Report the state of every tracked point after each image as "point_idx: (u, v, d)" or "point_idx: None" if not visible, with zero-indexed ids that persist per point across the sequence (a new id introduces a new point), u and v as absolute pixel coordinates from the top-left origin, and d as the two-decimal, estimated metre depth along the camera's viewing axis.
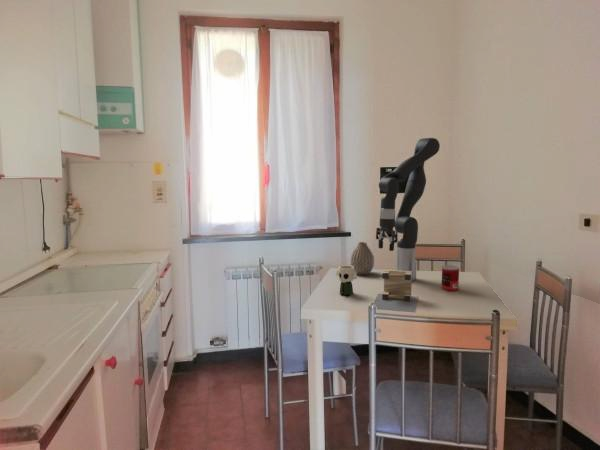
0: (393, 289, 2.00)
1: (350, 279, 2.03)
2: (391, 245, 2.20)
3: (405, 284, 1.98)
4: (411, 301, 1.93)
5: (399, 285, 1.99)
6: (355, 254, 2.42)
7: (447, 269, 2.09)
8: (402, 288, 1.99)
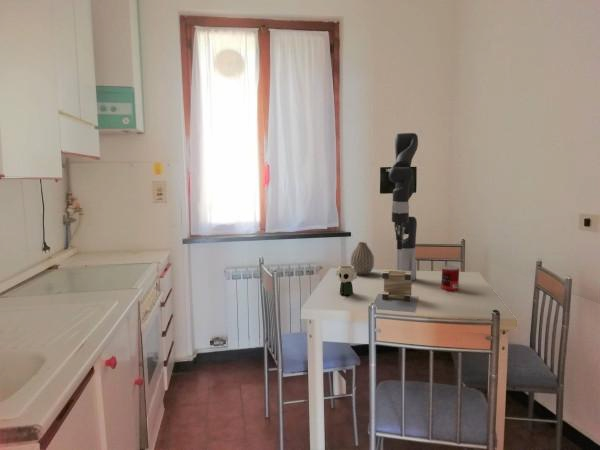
0: (393, 289, 2.00)
1: (350, 279, 2.03)
2: None
3: (405, 284, 1.98)
4: (411, 301, 1.93)
5: (399, 285, 1.99)
6: (355, 254, 2.42)
7: (447, 269, 2.09)
8: (402, 288, 1.99)
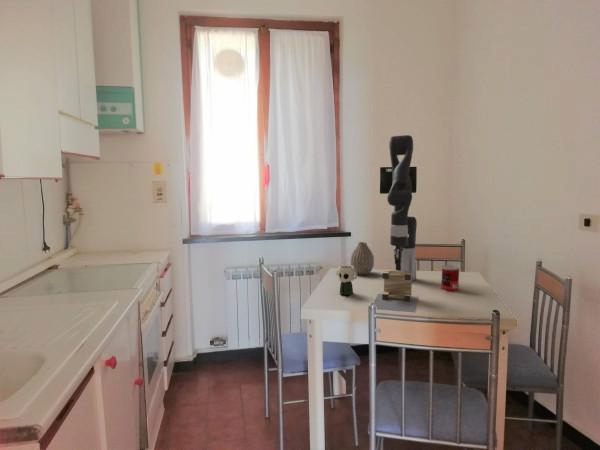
0: (393, 289, 2.00)
1: (350, 279, 2.03)
2: None
3: (405, 284, 1.98)
4: (411, 301, 1.93)
5: (399, 285, 1.99)
6: (355, 254, 2.42)
7: (447, 269, 2.09)
8: (402, 288, 1.98)
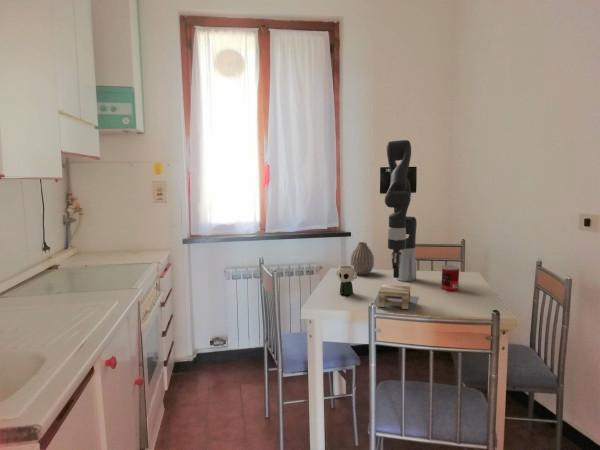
0: None
1: (350, 279, 2.03)
2: None
3: None
4: (411, 301, 1.93)
5: None
6: (355, 254, 2.42)
7: (447, 269, 2.09)
8: None
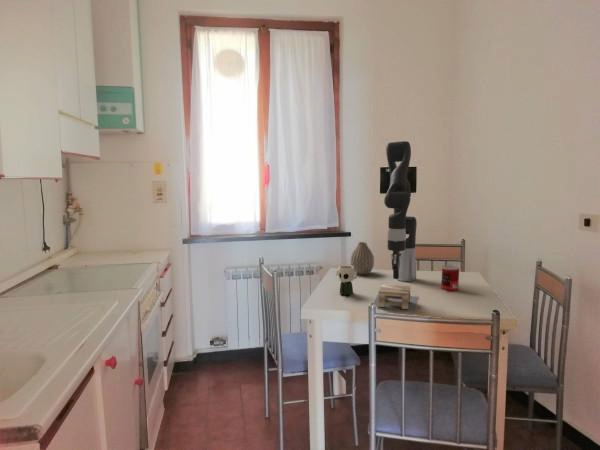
0: None
1: (350, 279, 2.03)
2: None
3: None
4: (411, 301, 1.93)
5: None
6: (355, 254, 2.42)
7: (447, 269, 2.09)
8: None
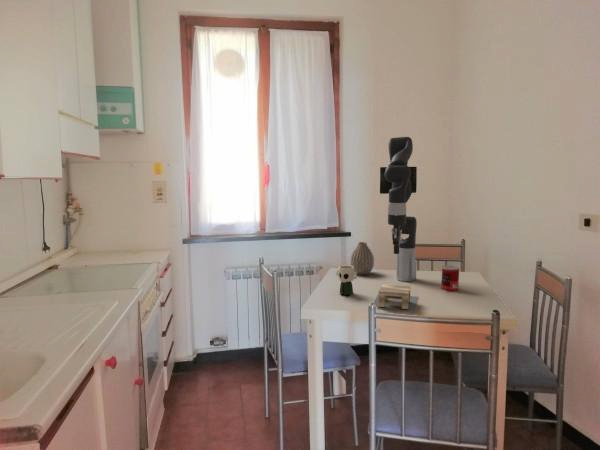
0: None
1: (350, 279, 2.03)
2: None
3: None
4: (411, 301, 1.93)
5: None
6: (355, 254, 2.42)
7: (447, 269, 2.09)
8: None
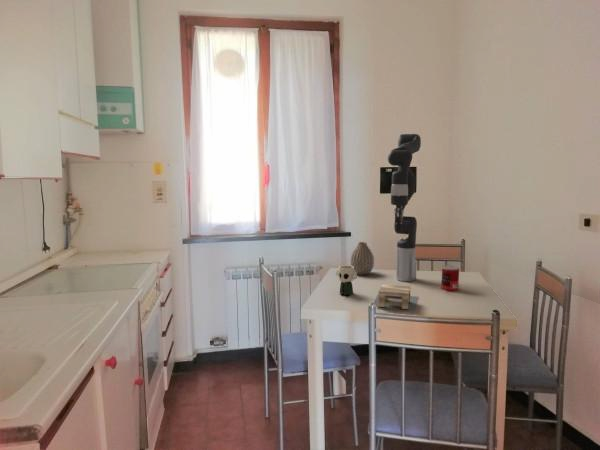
0: None
1: (350, 279, 2.03)
2: None
3: None
4: (411, 301, 1.93)
5: None
6: (355, 254, 2.42)
7: (447, 269, 2.09)
8: None
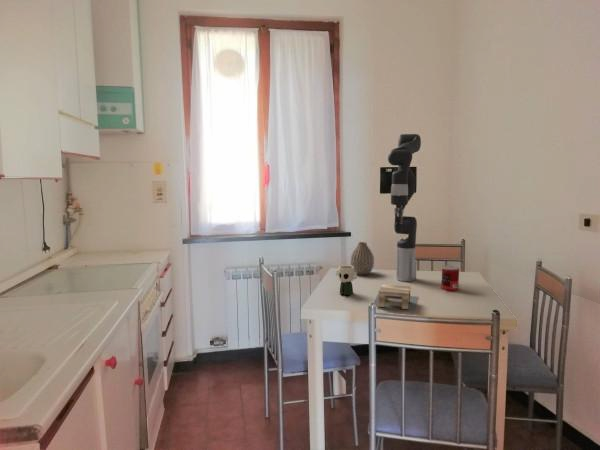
0: None
1: (350, 279, 2.03)
2: None
3: None
4: (411, 301, 1.93)
5: None
6: (355, 254, 2.42)
7: (447, 269, 2.09)
8: None
